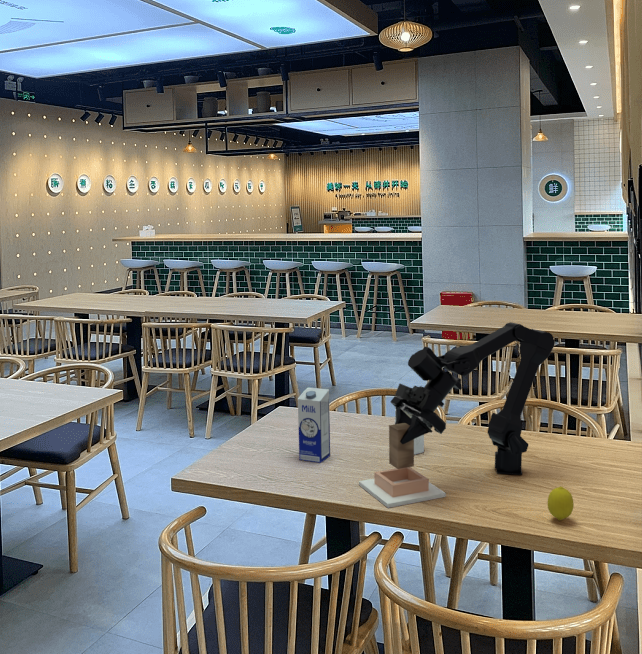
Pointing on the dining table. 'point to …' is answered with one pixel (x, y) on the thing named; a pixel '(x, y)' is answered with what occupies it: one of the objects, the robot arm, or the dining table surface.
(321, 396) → the milk carton
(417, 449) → the jar
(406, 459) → the walnut post
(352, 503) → the dining table surface
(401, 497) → the terracotta holder
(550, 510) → the lemon
